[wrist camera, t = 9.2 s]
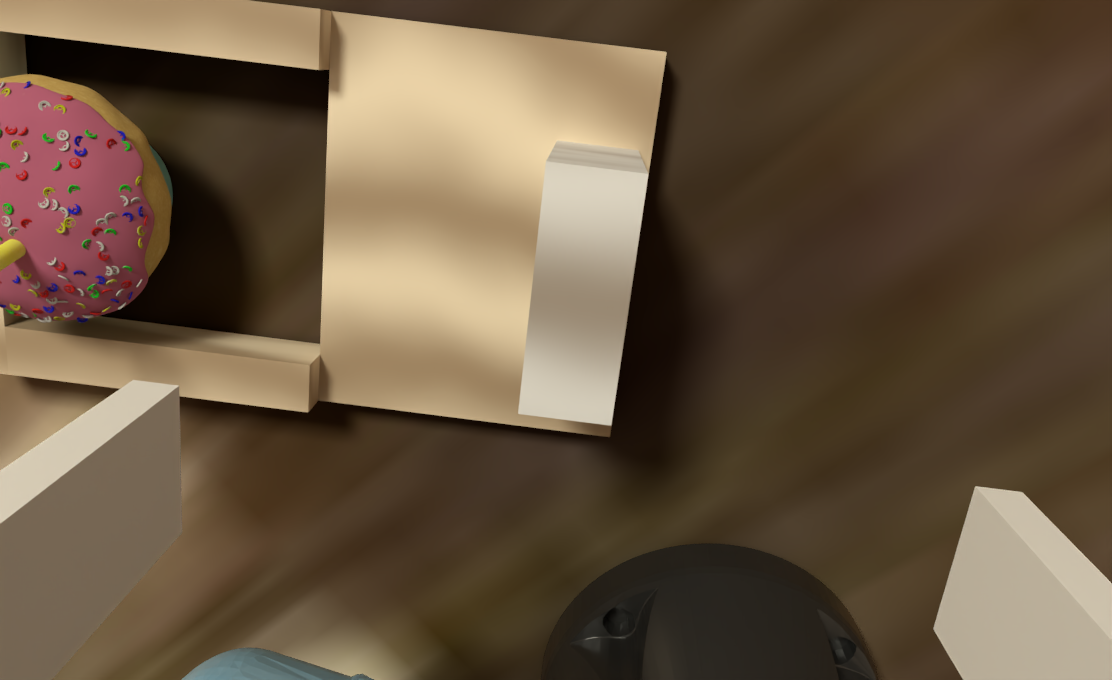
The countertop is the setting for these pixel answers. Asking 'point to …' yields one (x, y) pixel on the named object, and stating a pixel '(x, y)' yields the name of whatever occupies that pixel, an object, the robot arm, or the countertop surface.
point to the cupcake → (75, 202)
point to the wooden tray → (407, 217)
